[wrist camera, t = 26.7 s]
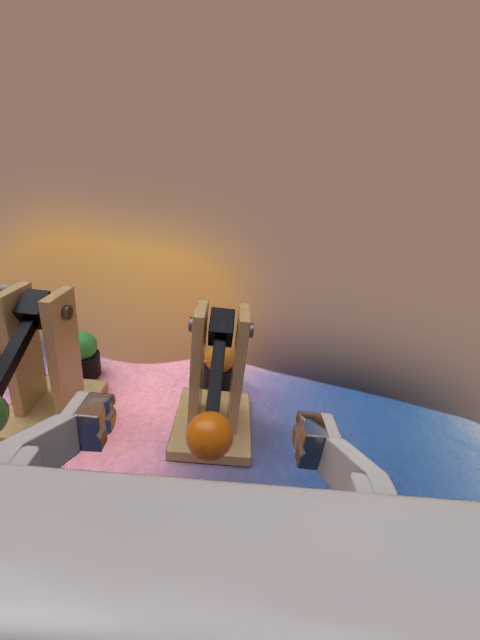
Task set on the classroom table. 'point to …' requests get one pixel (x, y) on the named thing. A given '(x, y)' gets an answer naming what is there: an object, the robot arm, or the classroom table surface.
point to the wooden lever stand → (62, 360)
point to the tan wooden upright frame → (231, 402)
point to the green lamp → (89, 356)
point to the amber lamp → (226, 371)
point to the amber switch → (214, 395)
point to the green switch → (19, 342)
